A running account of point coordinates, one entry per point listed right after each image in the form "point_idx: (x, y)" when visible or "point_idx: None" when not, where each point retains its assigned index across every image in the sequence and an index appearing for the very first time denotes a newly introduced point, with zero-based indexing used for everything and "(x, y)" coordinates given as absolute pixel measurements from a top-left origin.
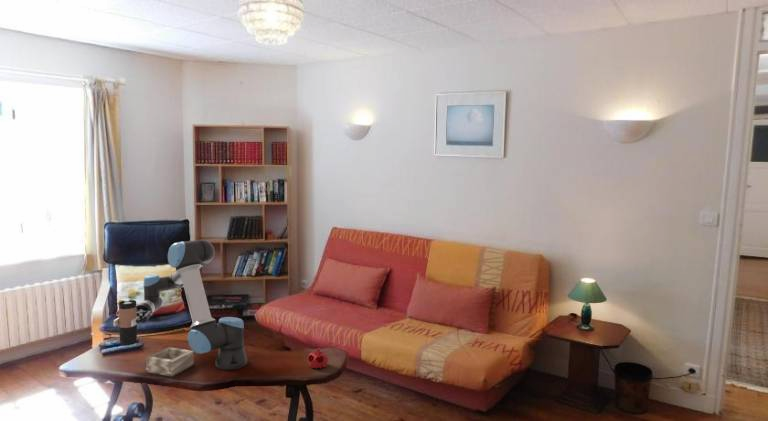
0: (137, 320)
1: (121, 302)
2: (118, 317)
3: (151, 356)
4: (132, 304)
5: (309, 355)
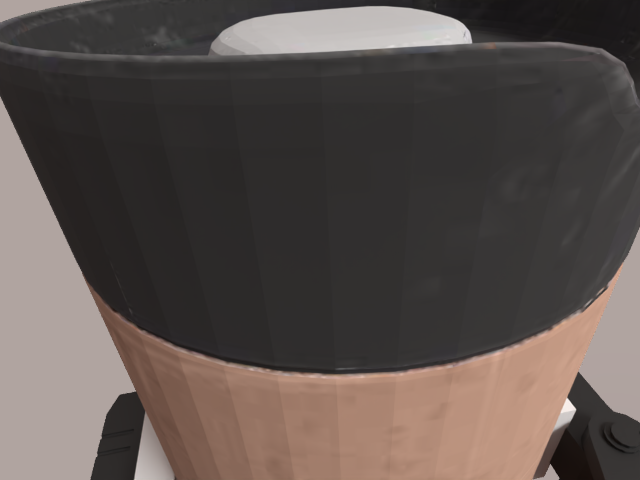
0: (131, 397)
1: (629, 29)
2: (609, 422)
3: None
4: (113, 43)
5: None
